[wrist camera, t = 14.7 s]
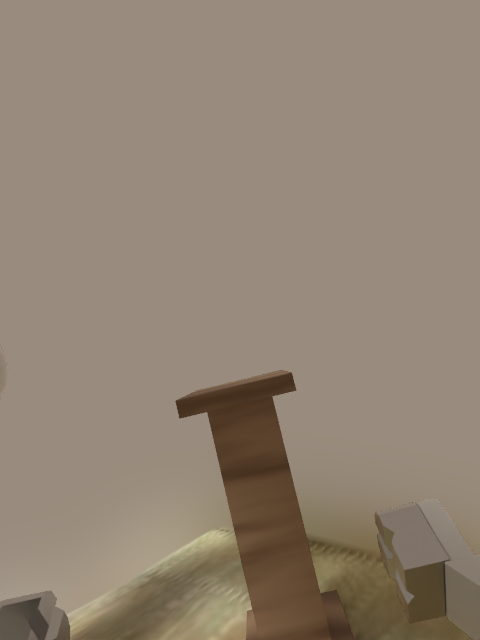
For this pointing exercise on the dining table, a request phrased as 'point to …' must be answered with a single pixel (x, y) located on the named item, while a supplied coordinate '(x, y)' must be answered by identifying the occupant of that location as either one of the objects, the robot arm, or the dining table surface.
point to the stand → (267, 511)
